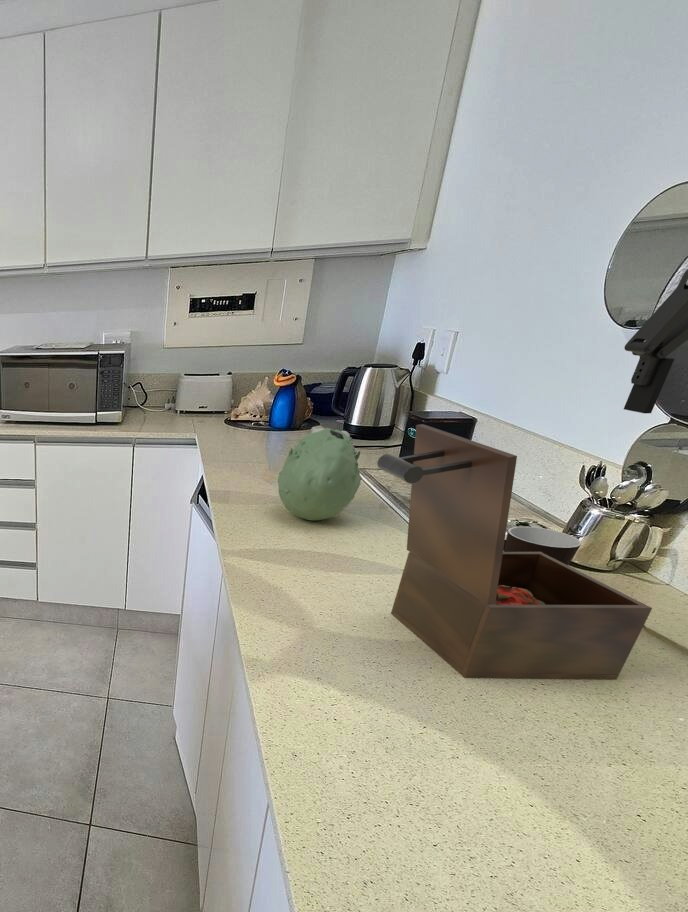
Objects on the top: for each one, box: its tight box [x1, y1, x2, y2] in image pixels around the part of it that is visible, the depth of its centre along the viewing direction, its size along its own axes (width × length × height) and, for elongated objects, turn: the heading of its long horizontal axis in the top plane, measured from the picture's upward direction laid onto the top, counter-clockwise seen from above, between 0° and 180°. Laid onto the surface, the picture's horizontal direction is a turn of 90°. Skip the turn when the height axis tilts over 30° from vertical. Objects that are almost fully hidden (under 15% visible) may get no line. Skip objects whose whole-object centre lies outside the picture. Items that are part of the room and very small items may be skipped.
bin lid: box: [376, 423, 518, 605], centre depth 77 cm, size 20×17×8 cm
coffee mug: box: [503, 526, 582, 566], centre depth 96 cm, size 12×9×10 cm
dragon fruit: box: [492, 585, 546, 605], centre depth 82 cm, size 8×8×12 cm
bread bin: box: [390, 551, 653, 680], centre depth 81 cm, size 19×17×11 cm
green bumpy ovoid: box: [277, 425, 363, 521], centre depth 125 cm, size 16×19×20 cm
